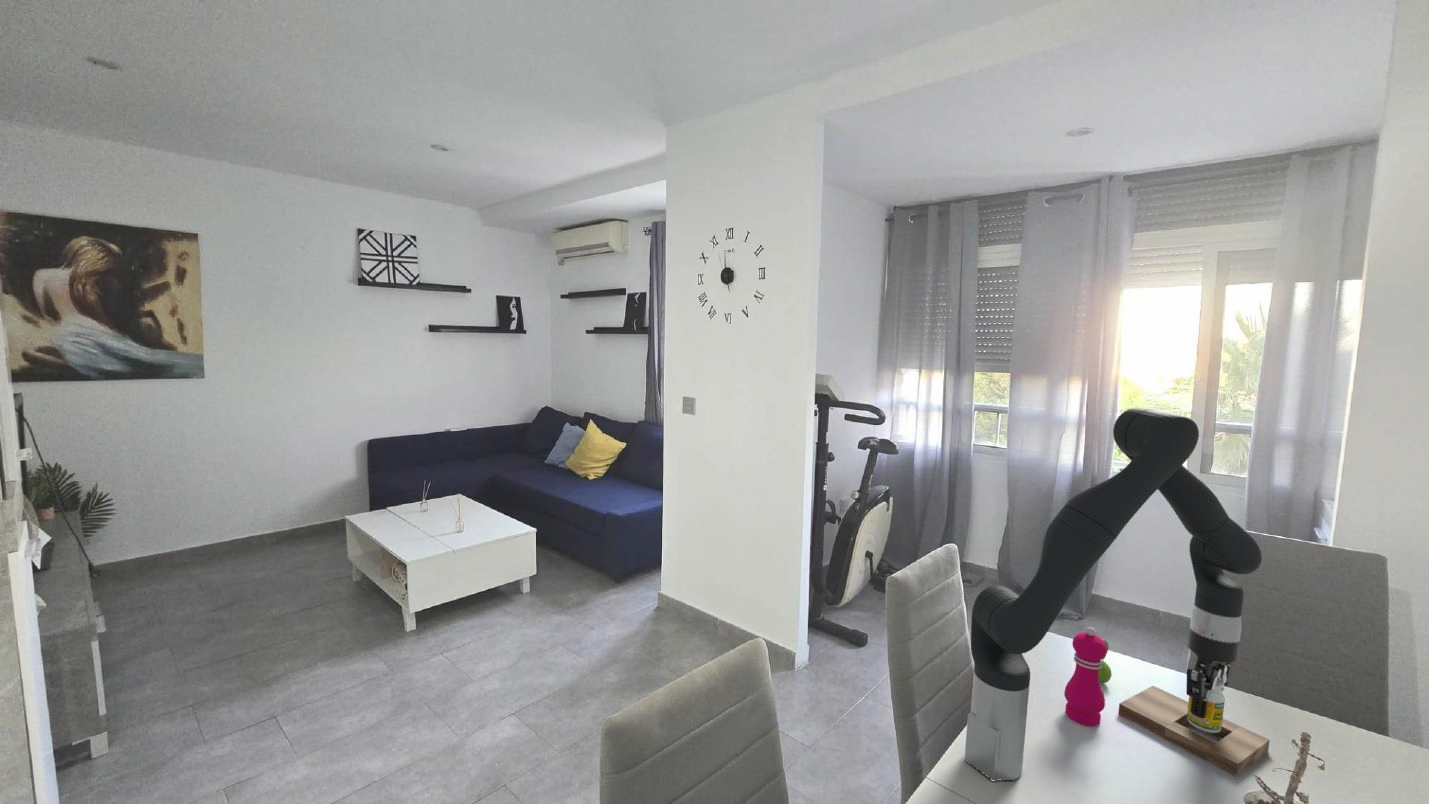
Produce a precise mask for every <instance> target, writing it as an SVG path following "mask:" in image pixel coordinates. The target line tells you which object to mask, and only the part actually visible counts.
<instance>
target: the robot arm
mask: <svg viewBox="0 0 1429 804" xmlns="http://www.w3.org/2000/svg"><path fill="white" fill-rule="evenodd" d="M1113 425H1114V426H1113V431H1112V433H1113V435H1112V436H1113V439H1114V442H1115V444H1116V446H1117V447H1118V449H1120V451H1121V452H1122V453H1123V454H1124V455H1125V456H1126V457H1127V458H1128V459H1129V460H1130V462H1129V463H1128V464H1127V465H1126V466H1125V467H1124V468H1123V469H1122V470H1120V471H1119V472H1117V474H1114V475H1113V476H1111V477H1109V478H1108V479H1106V480H1104V481H1102V482H1099V483H1098V484H1096V485H1093V486H1090V487H1088V488H1087V489H1084V490H1082V491H1081V492H1079V493H1077V494H1076V495H1074V496H1073V497H1072V498H1070V499H1069V500H1068V501H1067V502H1065V504H1064V505H1063V507H1062V508H1061V509H1060V511H1058V513H1057V514H1056V516H1055V517H1054V518H1053V519H1052V520H1051V522H1050V523H1049V525H1048V527H1047V529H1046V531H1045V534H1044V538H1043V542H1042V543H1043V544H1042V549H1041V555H1040V560H1039V564H1038V565H1039V566H1038V568H1037V571H1036V573H1035V575H1034V577H1033V578H1032V580H1031V581H1030V582H1029V584H1028V585H1027V586H1026V587H1025V589H1024V590H1023V591H1022V593H1020V595H1019V594H1017V593H1016V592H1014V591H1013V590H1011V589H1010V588H1007V586H1006V587H1005V586H1003V585H991V586H988V587H986V588H984V589H983V590H982V591H980V592H979V593H978V595H977V596H976V598H975V600H974V602H973V605H972V609H971V610H972V611H971V619H970V620H971V622H970V623H971V625H970V651H971V652H970V653H971V656H972V660H973V663H974V665H973V667H974V668H973V677H972V680H973V682H972V691H971V692H972V694H971V703H970V712H969V713H968V714H967V723H966V734H965V735H966V736H965V737H966V738H965V749H964V751H965V752H964V761H965V760H967V761H968V762H969V763H970V764H971V765H973V766H974V767H975V768H976V769H975V768H974V767H973V766H972V767H973V768H974V769H975V770H977V769H978V770H980V771H981V772H983V773H984V774H985V775H987V776H988V777H989V778H990V779H992V780H997V779H1001V780H1000V781H1002V780H1012V781H1016V780H1018V779H1019V778H1020V777H1021V776H1022V773H1023V764H1024V755H1025V754H1024V753H1025V752H1024V751H1025V742H1026V729H1027V717H1028V715H1027V714H1028V706H1029V703H1028V702H1029V694H1030V685H1031V684H1030V683H1031V682H1030V681H1031V670H1030V667H1029V664H1028V662H1027V661H1026V659H1025V657H1024V655H1023V654H1025V653H1028V652H1030V651H1032V650H1033V649H1034V648H1035V647H1036V646H1038V645H1039V643H1041V641H1042V640H1043V638H1044V637H1045V636H1046V635H1047V633H1048V631H1049V630H1050V628H1051V626H1052V625H1053V624H1054V623H1055V620H1056V618H1057V617H1058V616H1059V614H1060V613H1061V611H1062V609H1063V607H1064V606H1065V605H1066V603H1067V601H1068V600H1069V598H1070V597H1071V596H1072V594H1073V593H1074V591H1075V590H1076V588H1078V586H1079V585H1080V584H1081V582H1082V581H1083V580H1084V578H1085V577H1086V576H1087V574H1088V573H1089V571H1091V569H1092V568H1093V566H1094V565H1095V564H1096V563H1097V562H1098V561H1099V560H1100V559H1101V558H1102V556H1104V554H1105V553H1106V551H1107V550H1108V549H1109V548H1110V547H1111V545H1112V544H1113V543H1114V541H1115V540H1117V537H1119V535H1120V533H1121V532H1122V531H1123V529H1124V528H1125V527H1126V526H1127V525H1128V523H1129V522H1130V521H1131V519H1133V517H1134V516H1135V515H1136V514H1137V513H1138V511H1139V510H1141V508H1142V507H1143V506H1144V504H1145V503H1146V502H1147V501H1148V500H1149V499H1150V498H1151V497H1152V495H1154V493H1156V491H1157V490H1158V492H1159V493H1160V494H1161V495H1162V496H1163V498H1165V500H1166V501H1167V503H1168V504H1169V505H1170V507H1171V508H1172V509H1173V511H1174V513H1175V515H1176V516H1177V518H1178V519H1179V520H1180V522H1181V524H1182V526H1183V527H1184V529H1185V530H1186V531H1187V532H1188V533H1189V534H1190V535H1192V536H1191V539H1190V541H1189V546H1188V547H1189V556H1190V561H1191V566H1192V569H1193V575H1194V578H1195V584H1196V587H1195V596H1194V604H1193V608H1192V612H1191V615H1190V616H1191V617H1190V624H1189V632H1188V640H1187V641H1188V643H1187V647H1188V648H1189V650H1190V651H1191V652H1193V653H1194V654H1195V655H1196V656H1197V658H1196V659H1195V660H1194V663H1193V668H1191V667H1188V668H1187V669H1186V693H1185V694H1186V695H1187V696H1188V697H1189V696H1191V697H1192V704H1191V713H1192V714H1193V715H1195V716H1197V717H1200V718H1205V717H1206V709H1207V701H1208V697H1209V694H1210V691H1213V690H1214V689H1215V685H1216V682H1217V681H1220V682H1221V683H1222V690H1221V693H1222V694H1223V692H1224V691H1225V687H1226V688H1227V687H1228V686H1229V683H1230V679H1231V674H1232V668H1233V665H1234V664H1233V663H1235V662H1237V661H1238V658H1239V651H1240V642H1241V634H1242V611H1243V603H1244V595H1245V594H1244V593H1245V592H1244V589H1243V586H1241V585H1240V584H1239V583H1237V582H1235V581H1234V580H1233V579H1232V578H1231V579H1230V578H1229V577H1228V576H1227V575H1226V574H1225V572H1224V571H1226V572H1230V573H1231V574H1237V575H1249V574H1253V573H1254V572H1255V571H1257V570H1258V568H1259V567H1260V566H1261V565H1262V564H1261V563H1262V550H1261V549H1260V546H1259V544H1258V543H1257V541H1256V540H1255V539H1254V538H1253V536H1252V535H1250V534H1249V533H1248V532H1247V531H1246V530H1245V529H1244V528H1243V527H1242V526H1240V524H1238V523H1237V522H1236V521H1235V520H1234V519H1232V518H1230V517H1229V515H1228V513H1227V511H1226V510H1225V508H1224V506H1223V504H1222V503H1221V501H1220V500H1219V499H1218V497H1217V496H1216V495H1215V493H1214V492H1213V491H1212V490H1211V489H1210V487H1208V486H1207V485H1206V484H1205V483H1204V482H1203V481H1202V480H1201V479H1200V478H1198V477H1197V476H1196V475H1195V474H1193V473H1192V472H1191V471H1189V469H1187V468H1186V467H1185V466H1184V464H1185V463H1186V462H1187V460H1188V459H1189V458H1190V457H1191V455H1192V454H1193V452H1194V451H1195V448H1196V447H1197V444H1198V441H1199V437H1200V435H1199V434H1200V432H1199V426H1198V425H1197V423H1196V422H1195V421H1194V420H1193V419H1191V418H1189V417H1187V416H1184V415H1181V414H1177V413H1171V412H1168V411H1163V410H1158V409H1153V408H1146V407H1132V408H1128V409H1127V410H1125V411H1123V412H1122V413H1120V415H1119V416H1118V417H1117V418H1116V420H1115V422H1114V424H1113ZM1205 682H1208V683H1210V684H1209V685H1206V684H1205ZM1204 688H1205V691H1204ZM1197 690H1198V691H1199V692H1198V691H1197ZM969 763H968V764H969ZM970 764H969V765H970ZM971 765H970V766H971ZM978 770H977V771H978ZM981 772H980V773H981ZM985 775H984V776H985ZM989 778H988V779H989ZM1017 778H1018V779H1017ZM990 779H989V780H990ZM1015 779H1016V780H1015ZM997 781H998V780H997Z"/></svg>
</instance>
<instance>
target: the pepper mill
mask: <svg viewBox="0 0 1429 804" xmlns="http://www.w3.org/2000/svg"><path fill="white" fill-rule="evenodd" d="M1102 639H1103V638H1101V637H1100V636H1099V635H1097V631H1096V629H1095V628H1094V627H1092V626H1087V627H1086V629H1085V632H1084V631H1083V632H1079V633H1077V634H1076V635H1074V637H1073V640H1072V644H1071V645H1072V648H1073V650H1074V653H1073V654H1074V657H1073V661H1074V663H1075V668H1074V669H1075V670H1074V672H1073V675H1072V676H1071V677H1070V679H1069V681H1068V682H1067V683H1066V685H1065V688H1064V698H1065V700H1066V701H1067V702H1066V704H1065V711H1064V712H1065V715H1066V716H1067V718H1069V719H1070V721H1073V722H1074V723H1076V724H1079V725H1081V726H1083V727H1089V728H1090V727H1091V728H1093V727H1095V728H1096V727H1098V726H1100V724H1101V719H1102V718H1101V717H1102V716H1101V715H1102V714H1101V712H1102V711H1103V710H1104V708H1105V706H1106V698H1105V694H1104V692H1103V689H1102V687H1101V684H1099V669H1101V668H1102V663H1103V661H1104V660H1103V661H1102V658H1104V657H1105V655H1106V656H1107V654H1106V652H1107V648H1106V644H1105V642H1104V641H1103V640H1102ZM1107 653H1108V652H1107ZM1105 658H1106V657H1105ZM1105 658H1104V659H1105Z"/></svg>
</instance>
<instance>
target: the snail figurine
mask: <svg viewBox="0 0 1429 804" xmlns="http://www.w3.org/2000/svg"><path fill="white" fill-rule="evenodd" d="M1101 639H1102V640H1103V641H1104V642H1105V644H1106V648H1107V652H1106V655H1105V657H1104V658H1102V661H1103V663H1102V668H1101V669H1099V684H1100V685H1102V684H1103V685H1104V684H1106V683H1108V682H1110V680H1111V678H1112V670H1111V667H1110V666H1109V665H1108V663H1107V662H1106V661H1104V660H1105V659H1106V656H1107V653H1108V651H1109V643H1108V641H1107V640H1106V639H1103V638H1101Z"/></svg>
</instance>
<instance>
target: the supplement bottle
mask: <svg viewBox="0 0 1429 804" xmlns="http://www.w3.org/2000/svg"><path fill="white" fill-rule="evenodd" d="M1205 684H1206V685H1209V684H1210V683H1208V682H1205ZM1221 690H1222V683H1221V682H1220V681H1217V682H1216V685H1215V689H1214V690H1213V691H1210V694H1209V697H1208V701H1207V709H1206V717H1205V718H1200V717H1197V716H1195V715H1193V714H1192V713H1191V704H1192V697H1191V696H1189V695H1188V702H1189V703H1188V712H1187V719H1188V721H1189V723H1188V724H1190V725H1191V726H1193V728H1196V729H1198V730H1200V731H1203V732H1206V733H1209V732H1210V734H1211V733H1218V732H1220V731H1221V727H1222V719H1223V718H1224V709H1225V702H1226V697H1225V695H1224V694H1223V692H1222V693H1221ZM1197 691H1198V690H1197ZM1204 691H1205V688H1204ZM1198 692H1199V691H1198Z"/></svg>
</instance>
